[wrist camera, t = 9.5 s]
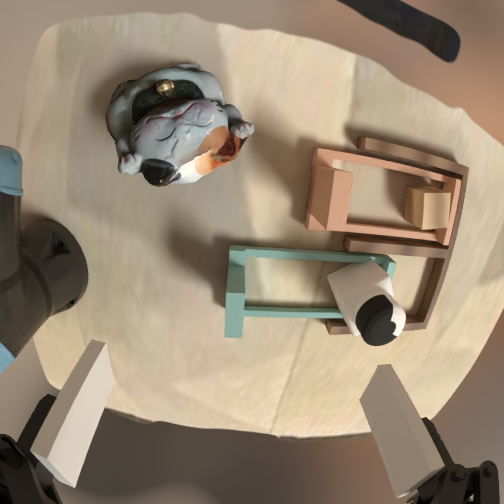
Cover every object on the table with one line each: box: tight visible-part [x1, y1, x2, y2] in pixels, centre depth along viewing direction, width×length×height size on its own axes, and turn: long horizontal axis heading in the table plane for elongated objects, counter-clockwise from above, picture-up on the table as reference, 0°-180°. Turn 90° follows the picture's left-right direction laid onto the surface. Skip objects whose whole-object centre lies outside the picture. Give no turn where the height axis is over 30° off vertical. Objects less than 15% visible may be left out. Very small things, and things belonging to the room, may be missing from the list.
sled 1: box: [305, 148, 461, 245], centre depth 31 cm, size 23×10×9 cm, turn 86°
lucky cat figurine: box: [106, 63, 255, 187], centre depth 26 cm, size 15×12×14 cm
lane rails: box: [325, 137, 469, 335], centre depth 37 cm, size 19×28×2 cm
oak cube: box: [404, 187, 451, 230], centre depth 34 cm, size 5×5×5 cm
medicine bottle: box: [327, 260, 406, 346], centre depth 35 cm, size 7×7×12 cm
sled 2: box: [224, 245, 396, 338], centre depth 35 cm, size 23×10×9 cm, turn 86°
